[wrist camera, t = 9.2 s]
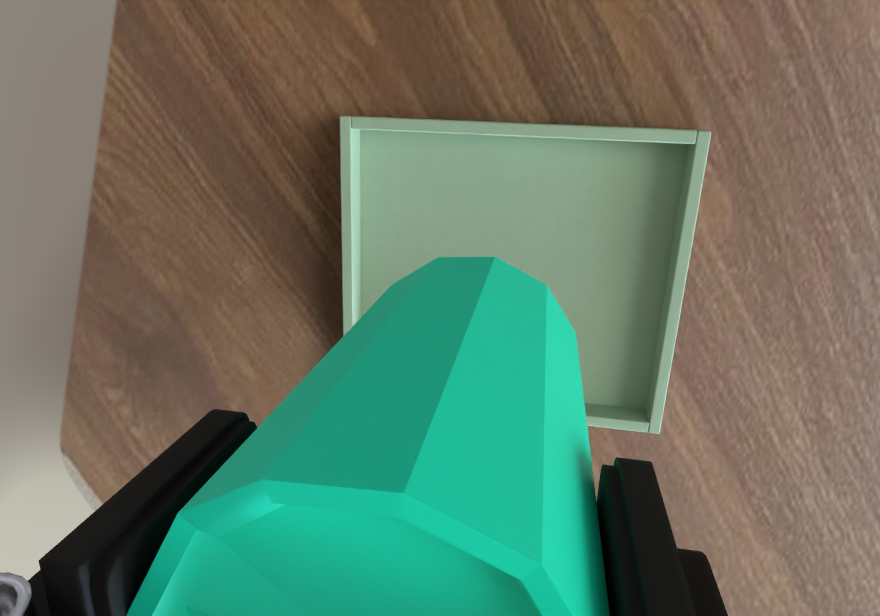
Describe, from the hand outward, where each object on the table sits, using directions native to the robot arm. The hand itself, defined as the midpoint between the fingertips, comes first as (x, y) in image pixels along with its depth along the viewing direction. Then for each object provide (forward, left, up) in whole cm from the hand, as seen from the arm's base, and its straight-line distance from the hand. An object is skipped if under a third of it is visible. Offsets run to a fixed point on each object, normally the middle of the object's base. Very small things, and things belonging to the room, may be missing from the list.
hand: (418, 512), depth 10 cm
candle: (0, 0, -7) cm, 7 cm away
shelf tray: (0, -1, -23) cm, 23 cm away
